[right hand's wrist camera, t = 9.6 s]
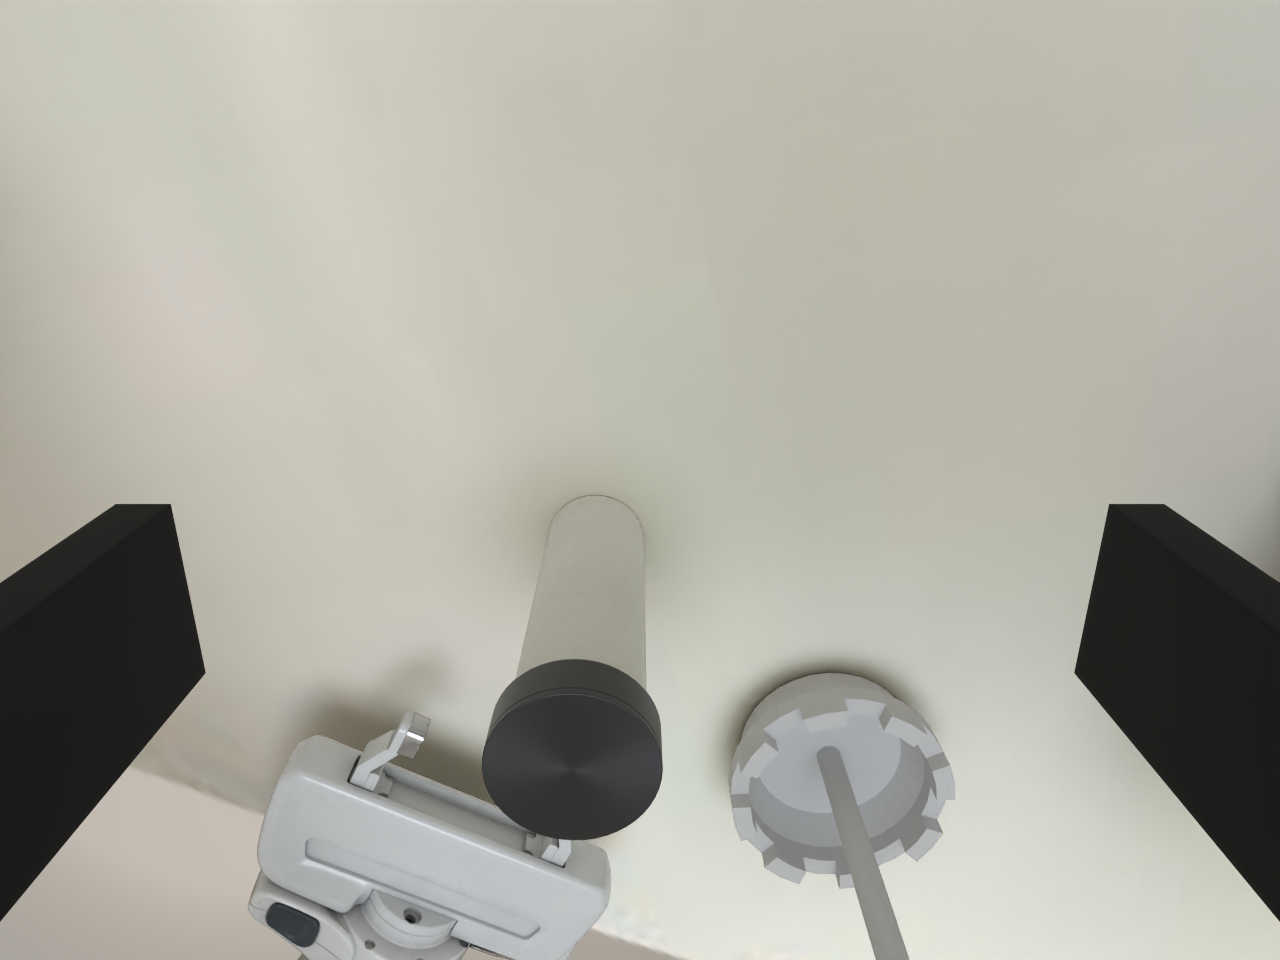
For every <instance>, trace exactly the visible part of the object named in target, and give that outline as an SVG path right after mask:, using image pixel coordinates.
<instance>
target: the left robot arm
mask: <svg viewBox="0 0 1280 960" xmlns="http://www.w3.org/2000/svg"><path fill="white" fill-rule="evenodd" d="M430 722H431V719H429V718H427V717H425V716H422V715H420V714H418V713H415V712H412V711H410V710H408V709H407V710H406V712H405V714H404V716H403V718H402V720H401V722H400V724H399V725H398V727H397V729H393V730H391V731H389V732H387V733H385V734H383V735H381V736H379V737H377V738H375V739H373V740H371V741H370V742H368V743H367V745H366V747H365V749H364V751H363V752H362V751H359V750H357V749H355V748H352V747H350V746H347V745H345V744H342V743H340V742H337V741H335V740H332V739H330V738H328V737H325V736H322V735H315V736H312V737H310V738H307V739H305V740H303V741H300V742H299V743H298V744H297V746H296V747H295V749H294V751H293V752H292V754H291V756H290V758H289V760H288V761H287V763H286V765H285V767H284V769H283V771H282V773H281V775H280V777H279V779H278V782H277V784H276V786H275V788H274V791H273V793H272V796H271V799H270V801H269V804H268V807H267V810H266V814H265V817H264V820H263V824H262V828H261V832H260V836H259V841H258V849H257V855H258V862H259V865H260V867H261V871H260V873H259V875H258V878H257V880H256V883H255V886H254V889H253V891H252V894H251V897H250V901H249V904H248V910H249V913H250V914H251V915H252V916H253V917H254V918H255V919H256V920H257V921H259V922H260V923H262V924H263V925H265V926H266V927H268V928H269V929H271V930H272V931H274V932H275V933H276V934H278V935H279V936H281V937H282V938H284V939H285V940H286V941H288V942H289V943H290V944H292V945H293V946H294V947H295V948H297V949H298V950H299V951H300V952H302V953H303V954H302V955H301V956H300V958H299V959H298V960H461V959H462V957H463V955H464V954H465V952H466V951H467V949H468V947H471V948H473V949H476V950H479V951H482V952H484V953H487V954H490V955H493V956H497V957H502V958H506V959H509V960H566V959H567V958H568V956H569V955H570V953H571V952H572V951H573V949H574V948H575V946H576V944H577V942H578V941H579V940H580V939H581V938H582V937H583V936H584V935H585V933H586V932H587V931H588V930H589V929H590V928H591V927H592V926H593V925H594V923H595V922H596V921H597V920H598V918H599V917H600V916H601V915H602V913H603V912H604V910H605V909H606V907H607V905H608V902H609V898H610V891H611V868H610V863H609V860H608V857H607V854H606V852H605V851H604V850H603V849H602V848H600V847H597V846H595V845H592V844H590V843H587V842H585V841H583V840H561V839H555V838H550V837H546V836H542V835H539V834H537V833H534V832H531V831H529V830H527V829H525V828H523V827H522V826H520V825H518V824H517V823H515V822H514V821H512V820H511V819H510V818H509V817H508V816H506V815H505V814H504V813H503V812H502V811H501V810H500V809H499V807H498V806H496V805H493V804H491V803H488V802H486V801H483V800H481V799H478V798H476V797H473V796H471V795H468V794H466V793H464V792H461V791H459V790H456V789H454V788H451V787H449V786H446V785H444V784H441V783H439V782H436V781H434V780H431V779H429V778H426V777H424V776H421V775H419V774H416V773H414V772H412V771H409V770H407V769H404V768H402V767H399V766H397V765H394V764H392V763H389V762H388V761H389V760H391V759H393V758H394V757H396V756H398V755H399V754H400V755H403V756H405V757H408V758H411V759H413V758H414V757H415V755H416V753H417V751H418V748H419V746H420V745H421V744H422V742H423V740H424V738H425V735H426V733H427V730H428V726H429V724H430Z"/></svg>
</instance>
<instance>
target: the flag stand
mask: <svg viewBox="0 0 1280 960" xmlns="http://www.w3.org/2000/svg"><path fill="white" fill-rule="evenodd" d="M729 787H730V795H731V802H732V809H733V816H734V823H735V827H736V829H737V832H738V834H739V837H740V839H741V841H743V840H745V839H748V841H749V842H750V843H751V844H753V845H754V846H755V847H756V848H757V849H758V850H759V851H760V852H761V853H762V856H763V861H764V867H765V868H766V869H768V870H770V871H771V872H773V873H775V874H776V875H778V876H780V877H782V878H784V879H787V880H790V881H792V882H795V883H798V884H799V883H800V881H801V880H802V878H803V876H804V874H805V872H810V873H816V874H836V878H837V881H838V885H839V889H842V888H851V887H855V890H856V893H857V897H858V900H859V903H860V907H861V910H862V914H863V917H864V920H865V924H866V927H867V931H868V934H869V938H870V941H871V944H872V948H873V951H874V955H875V958H876V960H909V957H908V954H907V951H906V948H905V945H904V942H903V939H902V936H901V933H900V930H899V927H898V924H897V921H896V918H895V915H894V912H893V909H892V906H891V903H890V900H889V897H888V894H887V891H886V888H885V885H884V882H883V879H882V876H881V873H880V870H879V867H878V865H881V864H883V863H885V862H888V861H890V860H892V859H894V858H896V857H898V856H899V855H901V854H902V853H904V852H905V853H907V854H908V855H909V856H910V857H912V858H913V859H914V860H915V861H918V860H919V859H921V858H922V857H923V856H924V855H925V854H926V853H927V852H928V851H929V850H930V849H932V847H933V846H934V845H935V843H936V842H937V841H938V839H939V838H940V837H941V835H942V834H943V832H942V830H941V827H940V825H939V823H938V821H937V818H938V816H939V814H940V812H941V810H942V808H943V806H944V804H945V800H955V782H954V778H953V774H952V771H951V767H950V764H949V762H948V760H947V758H946V756H945V754H944V752H943V750H942V748H941V746H940V745H939V743H938V741H937V739H936V737H935V735H934V733H933V732H932V730H931V728H930V726H929V725H928V724H927V722H926V721H925V720H924V719H923V718H922V717H921V716H920V715H919V714H918V713H917V712H916V711H915V710H913V709H912V708H911V707H909V706H908V705H906V704H905V703H903V702H902V701H900V700H898V699H896V698H894V697H893V696H892V695H891V694H890V693H889V692H888V691H887V690H885V689H884V688H882V687H881V686H879V685H878V684H876V683H874V682H872V681H869V680H867V679H865V678H862V677H858V676H854V675H849V674H842V673H823V674H815V675H809V676H806V677H802V678H799V679H796V680H793V681H791V682H789V683H787V684H785V685H783V686H781V687H779V688H777V689H776V690H775V691H773V692H772V693H770V694H769V695H768V696H766V697H765V698H764V699H763V700H762V701H761V702H760V703H759V705H758V706H757V707H756V708H755V709H754V710H753V712H752V714H751V715H750V717H749V718H748V720H747V722H746V724H745V727H744V730H743V733H742V737H741V741H740V743H739V745H738V746H737V748H736V751H735V753H734V756H733V759H732V762H731V765H730V774H729Z"/></svg>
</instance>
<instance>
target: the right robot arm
mask: <svg viewBox="0 0 1280 960" xmlns="http://www.w3.org/2000/svg"><path fill="white" fill-rule="evenodd" d="M204 674H205V668H204V663H203V658H202V653H201V648H200V644H199V639H198V634H197V629H196V624H195V619H194V615H193V610H192V605H191V600H190V595H189V590H188V585H187V581H186V576H185V571H184V566H183V561H182V556H181V552H180V547H179V542H178V537H177V532H176V527H175V523H174V518H173V513H172V508H171V504H115V505H114V506H113V507H111V508H110V509H108V510H107V511H105V512H104V513H102V514H101V515H99V516H98V517H96V518H95V519H93V520H92V521H90V522H89V523H88V524H86V525H85V526H83V527H82V528H80V529H79V530H77V531H76V532H74V533H73V534H71V535H70V536H68V537H67V538H66V539H64V540H63V541H61V542H60V543H58V544H57V545H55V546H54V547H52V548H51V549H49V550H48V551H46V552H45V553H44V554H42V555H41V556H39V557H38V558H36V559H35V560H33V561H32V562H30V563H29V564H27V565H26V566H24V567H23V568H22V569H20V570H19V571H17V572H16V573H14V574H13V575H11V576H10V577H8V578H7V579H5V580H4V581H2V582H1V583H0V921H1V920H2V919H3V918H4V916H5V915H6V914H7V913H8V911H9V910H10V909H11V908H12V907H13V905H14V904H15V903H16V902H17V900H18V899H19V898H20V897H21V896H22V895H23V893H24V892H25V891H26V890H27V888H28V887H29V886H30V885H31V884H32V882H33V881H34V880H35V879H36V878H37V876H38V875H39V874H40V873H41V872H42V870H43V869H44V868H45V867H46V865H47V864H48V863H49V862H50V861H51V859H52V858H53V857H54V856H55V855H56V853H57V852H58V851H59V850H60V849H61V847H62V846H63V845H64V844H65V842H66V841H67V840H68V839H69V838H70V836H71V835H72V834H73V833H74V832H75V830H76V829H77V828H78V827H79V825H80V824H81V823H82V822H83V821H84V819H85V818H86V817H87V816H88V815H89V813H90V812H91V811H92V810H93V809H94V807H95V806H96V805H97V804H98V803H99V801H100V800H101V799H102V798H103V796H104V795H105V794H106V793H107V792H108V790H109V789H110V788H111V787H112V785H113V784H114V783H115V782H116V781H117V780H118V778H119V777H120V776H121V775H122V773H123V772H124V771H125V770H126V769H127V767H128V766H129V765H130V764H131V763H132V761H133V760H134V759H135V758H136V757H137V755H138V754H139V753H140V752H141V750H142V749H143V748H144V747H145V746H146V744H147V743H148V742H149V741H150V740H151V738H152V737H153V736H154V735H155V734H156V732H157V731H158V730H159V729H160V727H161V726H162V725H163V724H164V723H165V721H166V720H167V719H168V718H169V717H170V715H171V714H172V713H173V712H174V711H175V709H176V708H177V707H178V706H179V704H180V703H181V702H182V701H183V700H184V698H185V697H186V696H187V695H188V694H189V692H190V691H191V690H192V689H193V688H194V686H195V685H196V684H197V683H198V681H199V680H200V679H201V678H202V677H203V675H204ZM1075 674H1076V675H1077V677H1078V678H1079V679H1080V680H1081V682H1082V683H1083V684H1084V685H1085V686H1086V688H1087V689H1088V690H1089V691H1090V692H1091V694H1092V695H1093V696H1094V697H1095V698H1096V700H1097V701H1098V702H1099V703H1100V705H1101V706H1102V707H1103V708H1104V709H1105V711H1106V712H1107V713H1108V714H1109V715H1110V717H1111V718H1112V719H1113V720H1114V721H1115V723H1116V724H1117V725H1118V726H1119V728H1120V729H1121V730H1122V731H1123V732H1124V734H1125V735H1126V736H1127V737H1128V738H1129V740H1130V741H1131V742H1132V743H1133V744H1134V746H1135V747H1136V748H1137V749H1138V751H1139V752H1140V753H1141V754H1142V755H1143V757H1144V758H1145V759H1146V760H1147V761H1148V763H1149V764H1150V765H1151V766H1152V767H1153V769H1154V770H1155V771H1156V772H1157V774H1158V775H1159V776H1160V777H1161V778H1162V780H1163V781H1164V782H1165V783H1166V784H1167V786H1168V787H1169V788H1170V789H1171V790H1172V792H1173V793H1174V794H1175V795H1176V797H1177V798H1178V799H1179V800H1180V801H1181V803H1182V804H1183V805H1184V806H1185V807H1186V809H1187V810H1188V811H1189V812H1190V813H1191V815H1192V816H1193V817H1194V818H1195V819H1196V821H1197V822H1198V823H1199V824H1200V826H1201V827H1202V828H1203V829H1204V830H1205V832H1206V833H1207V834H1208V835H1209V836H1210V838H1211V839H1212V840H1213V841H1214V842H1215V844H1216V845H1217V846H1218V847H1219V849H1220V850H1221V851H1222V852H1223V853H1224V855H1225V856H1226V857H1227V858H1228V859H1229V861H1230V862H1231V863H1232V864H1233V865H1234V867H1235V868H1236V869H1237V870H1238V872H1239V873H1240V874H1241V875H1242V876H1243V878H1244V879H1245V880H1246V881H1247V882H1248V884H1249V885H1250V886H1251V887H1252V888H1253V890H1254V891H1255V892H1256V893H1257V895H1258V896H1259V897H1260V898H1261V899H1262V901H1263V902H1264V903H1265V904H1266V905H1267V907H1268V908H1269V909H1270V910H1271V911H1272V913H1273V914H1274V915H1275V916H1276V918H1277V919H1278V920H1279V921H1280V583H1279V582H1278V581H1276V580H1275V579H1273V578H1272V577H1270V576H1269V575H1267V574H1266V573H1264V572H1263V571H1261V570H1260V569H1258V568H1257V567H1256V566H1254V565H1253V564H1251V563H1250V562H1248V561H1247V560H1245V559H1244V558H1242V557H1241V556H1239V555H1238V554H1236V553H1235V552H1234V551H1232V550H1231V549H1229V548H1228V547H1226V546H1225V545H1223V544H1222V543H1220V542H1219V541H1217V540H1216V539H1214V538H1213V537H1212V536H1210V535H1209V534H1207V533H1206V532H1204V531H1203V530H1201V529H1200V528H1198V527H1197V526H1195V525H1194V524H1192V523H1191V522H1189V521H1188V520H1187V519H1185V518H1184V517H1182V516H1181V515H1179V514H1178V513H1176V512H1175V511H1173V510H1172V509H1170V508H1169V507H1167V506H1166V505H1165V504H1109V508H1108V513H1107V518H1106V523H1105V527H1104V532H1103V537H1102V542H1101V547H1100V552H1099V556H1098V561H1097V566H1096V571H1095V576H1094V581H1093V585H1092V590H1091V595H1090V600H1089V605H1088V610H1087V614H1086V619H1085V624H1084V629H1083V634H1082V639H1081V644H1080V648H1079V653H1078V658H1077V663H1076V668H1075Z"/></svg>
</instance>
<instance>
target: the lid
mask: <svg viewBox="0 0 1280 960" xmlns="http://www.w3.org/2000/svg"><path fill="white" fill-rule="evenodd" d="M662 771H663V766H662V742H661V723H660V718H659V714H658V711H657V709H656V706H655V704H654V702H653V701H652V699H651V697H650V696H649V694H648V693H647V692H646V690H645V689H644V688H643V687H642V686H641V685H640V684H639V683H638V682H637V681H636V680H634V679H633V678H632V677H630V676H629V675H628V674H626V673H624V672H622V671H621V670H619V669H617V668H615V667H612V666H610V665H607V664H604V663H600V662H597V661H591V660H584V659H564V660H557V661H552V662H548V663H545V664H541V665H539V666H537V667H534V668H532V669H530V670H528V671H527V672H525V673H523V674H522V675H520V676H519V677H518V678H516V679H515V680H514V681H513V682H512V683H511V684H510V685H509V686H508V687H507V688H506V689H505V691H504V692H503V693H502V695H501V696H500V698H499V700H498V702H497V704H496V706H495V709H494V712H493V715H492V719H491V723H490V727H489V731H488V735H487V739H486V743H485V747H484V751H483V757H482V772H483V778H484V781H485V785H486V788H487V790H488V792H489V794H490V796H491V798H492V799H493V801H494V802H495V804H496V805H497V806H498V807H499V809H500V810H501V811H502V812H503V813H504V814H505V815H506V816H508V817H509V818H510V819H511V820H512V821H514V822H515V823H517V824H518V825H520V826H522V827H523V828H525V829H527V830H529V831H531V832H534V833H537V834H539V835H542V836H546V837H550V838H555V839H561V840H588V839H594V838H599V837H603V836H607V835H609V834H612V833H615V832H617V831H619V830H621V829H623V828H625V827H627V826H628V825H630V824H631V823H633V822H634V821H635V820H637V819H638V818H639V817H640V816H641V815H642V814H643V813H644V812H645V811H646V810H647V809H648V807H649V806H650V805H651V803H652V802H653V800H654V798H655V797H656V794H657V792H658V790H659V787H660V783H661V780H662Z"/></svg>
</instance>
